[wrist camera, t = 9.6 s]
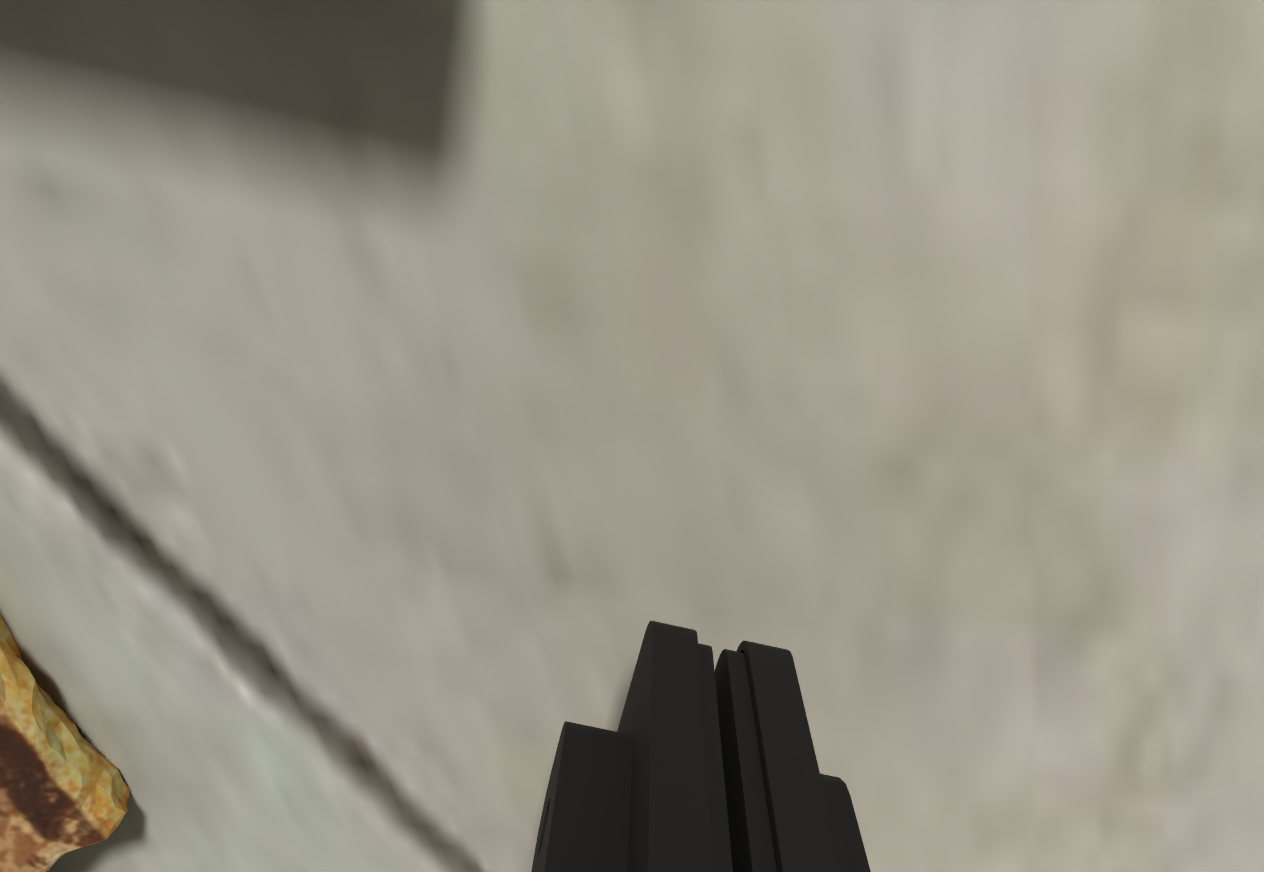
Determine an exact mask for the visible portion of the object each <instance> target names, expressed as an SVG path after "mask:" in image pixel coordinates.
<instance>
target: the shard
mask: <svg viewBox="0 0 1264 872" xmlns="http://www.w3.org/2000/svg"><path fill="white" fill-rule="evenodd" d="M129 795H130V789H129V787H128V786H127V785H126V783H125V782H124V781H123V779H122V777H121V775H120V772H119V770H118V769H117V767H116V766H114V765H113V764H112V763H111V762H110V761H109V760H107V759H106V758H105V757H104V756H102V755H101V754H100V753H99V752H98V751H97V750H95V749H94V748H93V747H92V745H91V744H90V743H89V742H88V741H87V740H86V739H84V738H83V737H82V736H81V735H80V734H79V732H78V730H77V727H76V725H75V723H74V722H72V721H71V720H70V719H69V718H68V716H67V715H66V714H65V712H64V711H63V710H62V709H61V708H60V707H59V706H57V705H56V704H55V703H54V702H53V700H52V699H51V697H50V696H49V695H48V694H47V693H46V692H44V691H43V690H42V689H41V688H40V686H39V685H38V684H37V683H36V681H35V679H34V677H33V675H32V674H31V672H30V670H29V668H28V667H27V666H26V665H25V664H24V662H23V660H22V657H21V654H20V651H19V649H18V647H17V644H16V643H15V641H14V639H13V638H12V634H11V632H10V631H9V629H8V627H7V626H6V624H5V622H4V621H3V619H2V617H1V614H0V872H46V871H48V870H49V869H50V868H51V867H52V866H53V864H54V863H55V862H56V861H57V860H58V859H59V858H60V857H61V856H63V855H64V854H65V853H67V852H70V851H72V850H75V849H78V848H82V847H86V846H90V845H93V844H95V843H98V842H101V841H103V840H106V839H108V837H109V836H110V835H111V834H112V833H113V832H114V830H115V829H116V828H117V827H118V826H119V824H120V823H121V821H122V819H123V818H124V816H125V814H126V813H127V811H128V810H127V802H128V799H129Z"/></svg>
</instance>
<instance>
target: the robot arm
mask: <svg viewBox="0 0 1264 872" xmlns="http://www.w3.org/2000/svg"><path fill="white" fill-rule="evenodd" d="M532 872H871V871H870V868H869V864H868V860H867V856H866V853H865V849H864V845H863V842H862V838H861V834H860V830H859V827H858V823H857V819H856V815H855V812H854V808H853V804H852V801H851V797H850V794H849V791H848V789H847V786H846V784H845V783H844V782H843V781H842V780H841V779H840V778H838V777H833V776H828V775H823V774H820V773H819V768H818V764H817V760H816V755H815V751H814V747H813V742H812V738H811V734H810V730H809V725H808V721H807V717H806V712H805V708H804V704H803V700H802V695H801V691H800V687H799V682H798V678H797V674H796V670H795V665H794V661H793V657H792V654H791V652H790V651H789V650H786V649H781V648H777V647H772V646H767V645H763V644H758V643H753V642H749V641H743V642H741V644H740V645H739V647H738V649H737V652H736V651H731V650H726V649H724V650H723V651H722V652H721V654H720V657H719V659H718V662H717V665H716V669H715V672H714V662H713V652H712V647H711V646H708V645H703V644H698V639H697V632H696V631H695V630H692V629H688V628H683V627H678V626H674V625H669V624H664V623H660V622H655V621H650V622H649V624H648V626H647V629H646V632H645V635H644V639H643V642H642V646H641V649H640V653H639V656H638V660H637V664H636V667H635V671H634V674H633V678H632V681H631V685H630V689H629V692H628V696H627V699H626V703H625V706H624V710H623V713H622V717H621V721H620V724H619V728H618V731H617V732H615V731H610V730H605V729H600V728H595V727H590V726H586V725H581V724H576V723H571V722H566V721H565V723H564V725H563V728H562V732H561V735H560V739H559V743H558V747H557V751H556V755H555V759H554V763H553V767H552V771H551V775H550V780H549V784H548V788H547V793H546V797H545V802H544V807H543V812H542V816H541V821H540V827H539V832H538V837H537V843H536V848H535V854H534V860H533V866H532Z"/></svg>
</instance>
